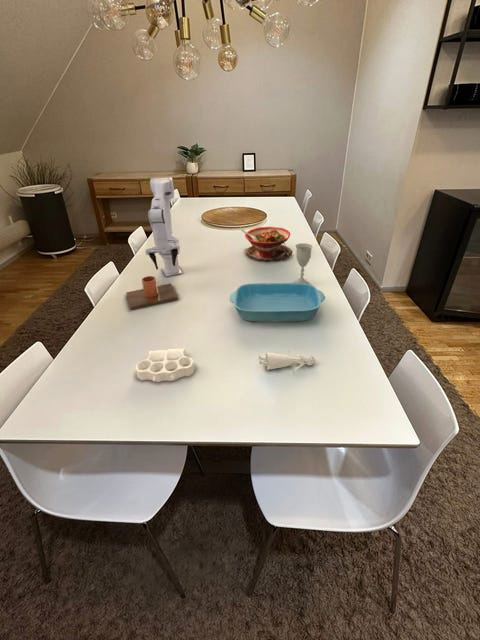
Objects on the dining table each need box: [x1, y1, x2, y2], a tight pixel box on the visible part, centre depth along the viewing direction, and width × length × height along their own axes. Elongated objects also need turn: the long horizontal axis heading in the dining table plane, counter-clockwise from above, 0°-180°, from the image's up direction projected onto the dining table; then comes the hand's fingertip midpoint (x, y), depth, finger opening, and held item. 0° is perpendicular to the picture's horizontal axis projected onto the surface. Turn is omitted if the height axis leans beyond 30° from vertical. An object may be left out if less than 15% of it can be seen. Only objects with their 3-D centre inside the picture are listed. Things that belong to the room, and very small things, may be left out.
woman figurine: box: [258, 349, 316, 374], centre depth 109 cm, size 12×4×18 cm
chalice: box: [295, 242, 314, 284], centre depth 152 cm, size 7×7×18 cm
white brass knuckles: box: [134, 347, 195, 383], centre depth 110 cm, size 3×18×15 cm
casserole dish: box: [229, 282, 326, 323], centre depth 136 cm, size 37×22×7 cm, turn 86°
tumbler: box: [141, 275, 158, 298], centre depth 148 cm, size 6×6×8 cm
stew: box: [238, 225, 293, 263], centre depth 182 cm, size 28×24×16 cm
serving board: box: [125, 282, 179, 311], centre depth 151 cm, size 14×20×2 cm
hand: (165, 267), depth 154 cm, fingers open, 7 cm apart
